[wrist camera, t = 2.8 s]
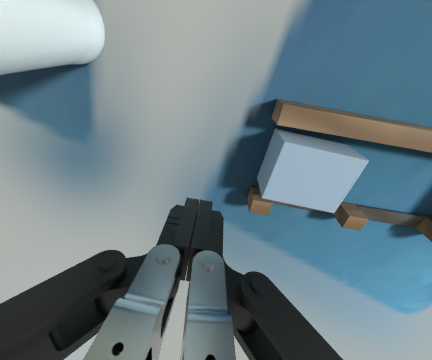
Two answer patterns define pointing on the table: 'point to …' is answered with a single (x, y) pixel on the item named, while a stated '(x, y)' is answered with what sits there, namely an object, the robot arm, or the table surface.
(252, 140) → the table surface
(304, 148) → the brick
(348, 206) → the lane
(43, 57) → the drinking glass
